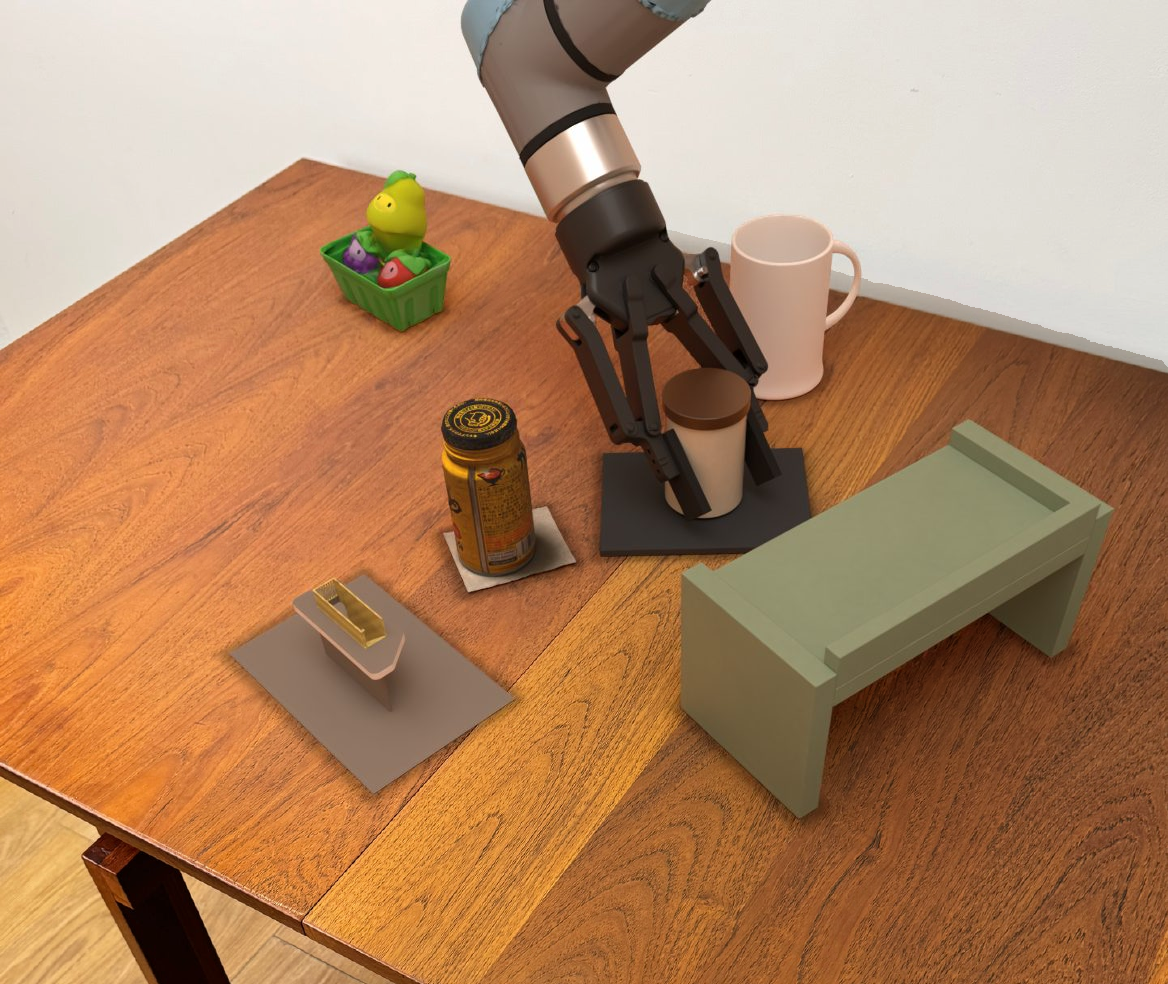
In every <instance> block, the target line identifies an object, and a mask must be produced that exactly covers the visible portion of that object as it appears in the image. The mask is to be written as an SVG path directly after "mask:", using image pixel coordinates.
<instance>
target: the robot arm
mask: <svg viewBox="0 0 1168 984" xmlns="http://www.w3.org/2000/svg"><path fill="white" fill-rule="evenodd" d="M711 1H712V0H466V2H465V4H464V6H463V8H462V11H461V15H460V29H461V34H462V36H463V39H464V41H465V44H466V46H467V48H468V51H469V54H470V56H471V58H472V60H473V63H474V66H475V68H476V74H477V78H478V80H479V82H480V84H481V86H482V88H484V89H485V91H486V93H487V95H488V97H489V99H490V100H491V103H492V104H493V106H494V109H495V110H496V112H497V115H498V117H499V119H500V120H501V123H502V124H503V126H504V128H505V131H506V133H507V134H508V136H509V138H510V142H511V143H512V145H513V147H514V149H515V151H516V153H517V156H518V159H519V160H520V163H521V165H522V167H523V170H524V172H525V174H526V176H527V178H528V180H529V183H530V185H531V187H532V189H533V191H534V193H535V196H536V197H537V200H538V202H539V204H540V206H541V208H542V210H543V213H544V214H545V217H546V219H547V220H548V222H550V223H554V224H557V225H556V227H555V232H554V237H555V239H556V241H557V244H558V245H559V247H560V249H561V251H562V253H563V255H564V258H565V260H566V262H567V265H568V266H569V268H570V270H571V273H572V274H573V275H574V276H575V277H576V279H577V280H578V282H579V286H580V301H578V302H577V303H576V304H573V305H571V306H570V307H569V308H567V310H565V311H564V313H563V314H561V315H560V317H559V318H557V320H556V322H555V328H556V330H557V332H558V333H559V334H560V335H561V336H562V337H563V339H564V340H565V341H566V342H567V343H568V345H569V346H570V347H571V348H572V350H573V352H574V354H575V357H576V360H577V362H578V364H579V366H580V369H581V372H582V374H583V376H584V379H585V381H586V384H587V387H588V389H589V391H590V394H591V396H592V398H593V401H594V403H595V406H596V408H597V411H598V413H599V415H600V418H601V421H602V423H603V425H604V428H605V430H606V432H607V436H608V438H609V440H610V442H611V443H612V444H614V445H615V446H621V445H622V444H631V445H632V446H634V447H641V449H642V452H644V453H645V455H646V458H647V460H648V462H649V464H650V466H651V468H652V470H653V472H654V474H655V477H656V479H657V480H658V481H659V482H660V483H661V484H662V483H664V482H666V481H668V482H669V484H670V486H671V488H672V490H673V492H674V495H675V497H676V499H677V501H678V503H679V505H680V507H681V509H682V512H683V514H684V516H685V518H686V520H687V522H689V521H691V520H693V519H696V518H698V517H700V516H702V515H704V514H706V513H708V512H710V511H712V509H711V507H710V505H709V503H708V501H707V499H706V496H705V494H704V492H703V490H702V488H701V486H700V484H699V481H698V479H697V477H696V475H695V473H694V471H693V469H692V466H691V464H690V462H689V460H688V458H687V456H686V454H685V451H684V449H683V447H682V445H681V443H680V441H679V439H678V436H677V434H676V432H675V430H674V428H673V429H671V430H669V431H666V432H665V431H664V432H663V433H662V430H663V426H662V419H661V415H660V409H659V402H658V398H657V392H656V386H655V380H654V374H653V369H652V364H651V362H652V361H651V357H650V351H649V346H648V337H649V327H652V326H658V325H661V327H662V328H663V329H664V330H665V331H666V332H667V333H670V334H672V335H673V336H675V337H676V339H677V340H678V341H679V343H680V344H681V345H682V346H683V347H684V348H685V350H686V351H687V352H688V353H689V355H690V356H691V357H692V358H693V359H694V360H695V362H696V363H697V365H699V367H700V368H718V369H723V370H727V371H730V372H733V373H735V374H737V375H739V376H740V377H742V378H743V379H744V380H745V381H746V382H747V384H748V385H749V387H750V390H751V402H750V409H749V411H748V413H747V424H746V442H745V462H746V464H747V467H748V469H749V471H750V473H751V475H752V477H753V480H754V482H755V484H756V486H759V485H761V484H763V483H765V482H767V481H770V480H772V479H774V478H776V477H778V476H780V475H782V472H781V470H780V468H779V466H778V464H777V461H776V459H775V457H774V455H773V453H772V450H771V448H772V447H770V444H769V442H768V439H767V437H766V435H765V432H767V431H770V430H769V422H768V420H767V418H766V415H765V414H764V411H763V409H762V407H761V405H760V402H759V399H758V398H756V396H755V393H754V387H756V386H757V384H758V381H759V380H758V379H759V378H760V377H761V376H762V374H764V373H765V372H766V371H767V370H768V363H767V361H766V359H765V357H764V355H763V353H762V351H761V349H760V348H759V346H758V344H757V342H756V340H755V338H754V336H753V334H752V332H751V330H750V328H749V326H748V324H747V322H746V321H745V319H744V317H743V315H742V313H741V311H740V309H739V307H738V305H737V303H736V301H735V299H734V297H733V295H732V293H731V292H730V287H729V286H728V284H727V282H726V280H725V279H724V274H723V270H722V263H721V258H720V255H719V251H718V250H717V249H716V248H715V247H713V246H709V247H707V248H705V249H704V251H702V252H701V253H689V254H688V253H687V254H683V252H682V250H681V249H680V248H679V247H677V246H676V245H675V244H674V242H673V241H671V239H670V237H669V233H668V228H667V222H666V219H665V217H664V215H663V212H662V210H661V208H660V206H659V204H658V202H657V200H656V199H657V198H656V197H655V195H654V192H653V191H652V188H651V185H650V184H649V182H648V181H645V180H643V179H640V178H639V177H640V174H641V172H642V165H641V163H640V160H639V158H638V157H637V154H636V152H635V150H634V147H633V146H632V143H631V142H630V140H629V138H628V136H627V133H626V131H625V130H624V129H625V128H624V127H623V125H622V123H621V121H620V119H619V117H618V114H617V112H616V110H615V108H614V106H613V105H614V104H613V102H612V100H611V98H610V95H609V92H608V90H607V88H608V86H609V85H610V84H611V83H613V82H615V81H616V80H617V79H618V78H620V77H621V76H622V75H624V73H625V72H626V71H627V70H628V69H629V68H631V66H633V65H634V64H635V63H636V62H638V61H639V60H641V58H643V57H644V56H645V55H646V54H647V53H649V52H650V51H651V50H653V48H656V46H658V45H659V44H660V43H661V42H662V41H664V40H665V39H666V38H668V37H669V36H670V35H671V34H672V33H674V32H675V31H676V30H677V29H679V28H680V27H681V26H682V25H684V24H685V23H686V22H687V21H688V20H690V19H691V18H693V19H695V18H696V17H697V16H699V15H700V14H701V13H704V11H705V9H706V7H707V5H708V4H709V3H710V2H711ZM684 276H685V277H686V279H687V280H686V283H687V285H688V286H690V287H692V286H693V290H694V294H695V296H696V299H697V301H698V302H699V304H700V306H701V309H702V310H703V312H704V314H705V316H706V319H707V320H708V321H709V322H707V321H706V320H705V319H704V318H703V316H702V315H701V314H700V312H699V307H698V304H697V303H696V301H695V300H694V299H693V298H692V297H691V296H690V294H689V292H687V291H686V289H685V288H684V287H683V284H684ZM596 316H597V317H598V318H600V319H601V320H603V321H604V322H606V323H607V324H609V325H610V330H611V335H612V342H613V347H614V350H615V352H616V353H618V358H619V364H620V369H621V376H622V381H623V386H622V383H621V381H620V379H619V376H618V374H617V371H616V369H615V367H614V364H613V361H612V359H611V356H610V354H609V352H608V350H607V346H606V343H605V342H604V339H603V337H602V335H601V333H600V331H599V329H598V327H597V317H596ZM708 323H710V325H709V324H708ZM623 387H624V389H623Z"/></svg>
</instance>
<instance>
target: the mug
mask: <svg viewBox="0 0 1168 984" xmlns="http://www.w3.org/2000/svg"><path fill="white" fill-rule="evenodd" d="M834 254H839V255H843V256H844V257H847V259H849V260H850V262H851V263H852V267H853V281H852V284H851V285H852V286H851V287H850V290H849V293H848V295H847V296H846V298H845V299H844V301H843V302H842V303H841V304H840V306H839V307H837V308H836V310H835V311H833V312H832V313H830V314H829V315H827V313H828V302H829V293H830V283H831V275H832V274H831V273H832V265H833V256H834ZM729 269H730V270H729V290H730V292H731V293H732V295H733V297H734V299H735V301H736V303H737V305H738V307H739V309H740V311H741V313H742V315H743V317H744V319H745V321H746V322H747V324H748V326H749V328H750V330H751V332H752V334H753V336H754V338H755V340H756V342H757V344H758V346H759V348H760V349H761V351H762V353H763V355H764V357H765V359H766V361H767V363H768V370H767V371H766V372H765V373H764V374H762V376H761V377H760V378H759V379H758V380H759V381H758V384H757V386H756V387H754V393H755V396H756V398H757V400H765V401H782V400H783V401H784V400H789V399H790V400H791V399H794V398H798V397H801V396H803V395H805V394H808V393H810V392H811V391H813V390H814V389H815V388H816V387H817V386H818V385H819V384H820V382H821V381H822V379H823V376H824V363H823V351H824V342H825V341H824V340H825V331H827V330H829V329H831V328H832V327H833V326H834V325H836V324H837V323H838V322H839V321H841V320H842V318H843V317H844V316H845V315H846V314H847V313H848V312H849V311H850V309H851V307H852V306H853V305H854V302H855V300H856V299H857V296H858V294H859V291H860V288H861V283H862V265H861V261H860V259H859V257H858V255H857V253H856V251H854V249H853V248H852V247H851V246H850V245H849V244H847V243H845V242H843V241H841V240H838V239H835V238H834V234H833V231H831V229H830V228H829V227H828V226H827V225H825V224H824V223H822V222H820V221H818V220H816V219H813V218H811V217H807V216H804V215H797V214H787V213H785V214H784V213H777V214H769V215H768V214H767V215H763V216H759V217H755V218H752V219H750V220H748V221H746V222H744V223H742V224H741V225H739V226H738V227H737V228H736V229H735V230H734V232H733V233H732V236H731V242H730V268H729Z"/></svg>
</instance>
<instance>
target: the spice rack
mask: <svg viewBox="0 0 1168 984" xmlns="http://www.w3.org/2000/svg"><path fill="white" fill-rule="evenodd" d="M1114 510H1115V508H1114V507H1112V506H1111V505H1109V504H1108V503H1106V502H1104V501H1102V500H1101V499H1099V498H1097V497H1096V496H1095V495H1093V494H1091V493H1090V492H1088V491H1086V490H1085V489H1083V488H1081V487H1080V486H1078V485H1077V484H1075V483H1074V482H1072V481H1070V480H1069V479H1067V478H1066V477H1064V476H1062V475H1061V474H1059V473H1058V472H1056V471H1054V470H1052V469H1051V468H1049V467H1048V466H1046V465H1044V464H1042V463H1041V462H1040V461H1038V460H1036V459H1035V458H1033V457H1032V456H1030V455H1028V454H1026V453H1025V452H1023V451H1022V450H1020V449H1018V448H1017V447H1016V446H1014V445H1012V444H1010V443H1009V442H1007V441H1006V440H1004V439H1002V438H1001V437H999V436H997V435H995V433H992V432H991V431H990V430H987V429H986V428H985V427H983V426H981V425H979V424H978V423H977V422H975V421H973V420H971V419H969V418H968V419H966V420H964V421H962V422H961V423H959V424H957V425H955V426H953V427H952V428H951V431H950V435H949V441H948V444H947V445H944V446H943V447H941V448H939V449H937V450H935V451H933V452H932V453H930V454H928V455H926V456H924V457H922V458H921V459H919V460H917V461H915V462H913V463H911V464H910V465H908V466H906V467H904V468H902V469H900V470H898V471H896V472H895V473H893V474H891V475H889V476H887V477H886V478H885V477H884V479H881V480H880V481H878V482H876V483H874V484H872V485H870V486H869V487H866V488H865V489H863V490H861V491H859V492H857V493H855V494H854V495H852V496H850V497H847V499H843V501H840V502H839V503H837V504H835V505H833V506H831V507H829V508H827V509H826V510H823V511H822V512H821V513H819V514H817V515H815V516H812V517H811V519H809V520H807V521H805V522H804V523H802V524H800V525H798V526H796V527H794V528H792V529H791V530H789V531H787V532H785V533H783V534H781V535H780V536H778V537H776V538H774V539H772V540H770V541H768V542H767V543H765V544H763V545H761V546H759V547H757V548H755V549H754V550H752V551H750V552H748V553H743V554H742V555H741V556H739V557H737V558H734V559H733V560H731V561H730V562H728V563H726V564H724V565H722V566H720V567H718V568H716V569H714V570H712V569H711V568H709V567H708V566H707V565H706V564H705V563H703V562H702V561H701V562H699V563H696V564H695V565H693V566H691V567H690V568H688V569H685V570H684V571H682V572H681V573H680V697H679V699H680V700H679V701H680V703H679V704H680V705H679V706H680V709H681V710H683V712H684V713H686V714H687V715H688V716H689V717H690V718H691V719H692V720H693V721H694V722H695V723H696V724H697V725H699V726H700V727H701V728H702V729H703V730H704V731H705V732H706V733H707V734H708V735H709V736H710V737H711V738H712V739H714V740H715V742H717V744H718V745H720V746H721V747H722V748H723V750H725V751H726V752H727V753H728V754H729V755H730V756H732V758H733V759H734V760H735V761H737V762H738V763H739V765H741V766H742V767H743V768H744V769H745V770H746V771H747V772H748V773H749V774H751V775H752V776H753V777H754V779H755V780H757V781H758V782H759V783H760V784H761V785H762V787H763V788H765V789H766V790H767V791H769V792H770V793H771V794H772V795H773V796H774V797H775V798H776V799H777V800H778V801H779V802H780V803H781V804H782V805H783V806H784V807H785V808H786V809H787V810H789V812H791V813H792V814H793V815H794V817H796V818H797V819H799V820H800V819H802V818H803V817H805V816H806V815H808V814H810V813H811V812H812V811H814V810H816V809H817V808H819V803H820V796H821V789H822V782H823V781H822V780H823V774H824V770H825V769H824V767H825V760H826V754H827V747H828V741H829V734H830V727H831V721H832V720H831V719H832V713H833V707H835V706H837V705H840V703H842V702H843V701H845V700H847V699H848V698H850V697H851V696H854V695H855V694H857V693H858V692H860V691H861V690H863V689H865V688H866V687H868V686H870V685H872V684H873V683H875V682H876V681H879V680H880V679H881V678H883V677H885V676H886V675H888V674H889V673H891V672H893V671H895V670H896V669H898V668H899V667H902V666H903V665H904V664H906V663H908V662H909V661H911V660H913V659H914V658H916V657H917V656H919V655H921V654H922V653H924V652H927V650H928V649H930V648H932V647H934V646H936V645H937V644H939V643H940V642H942V641H944V640H945V639H947V638H949V637H950V636H952V635H953V634H955V633H957V632H958V631H960V630H962V629H963V628H965V627H967V626H968V625H971V624H972V623H973V622H975V621H976V620H978V619H979V618H981V617H983V616H985V615H986V614H989V615H990V616H992V617H993V618H994V619H996V620H997V621H999V622H1000V623H1002V624H1003V625H1004V626H1005V627H1007V628H1009V629H1010V630H1011V631H1013V632H1014V633H1015V634H1017V635H1018V636H1019V637H1021V638H1022V639H1023V640H1025V641H1027V643H1029V644H1031V645H1032V646H1033V647H1034V648H1036V649H1037V650H1039V651H1040V652H1042V653H1043V654H1044V655H1046V656H1047V657H1049V658H1050V659H1052V658H1053V657H1055V656H1056V655H1058V654H1060V653H1061V652H1063V651H1065V650H1066V649H1067V648H1068V645H1069V642H1070V639H1071V637H1072V633H1073V631H1074V628H1075V626H1076V625H1075V624H1076V622H1077V619H1078V616H1079V612H1080V610H1081V607H1082V604H1083V602H1084V598H1085V595H1086V592H1087V590H1088V586H1089V583H1090V580H1091V577H1092V574H1093V572H1094V569H1095V565H1096V564H1097V560H1098V558H1099V554H1100V551H1101V548H1102V546H1103V542H1104V540H1105V537H1106V534H1107V530H1108V528H1109V525H1110V522H1111V520H1112V516H1113V513H1114Z"/></svg>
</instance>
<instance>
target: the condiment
mask: <svg viewBox="0 0 1168 984" xmlns="http://www.w3.org/2000/svg"><path fill="white" fill-rule="evenodd" d="M440 432H441V434H442V439H443V441H442V443H443V450H442V451H441V452H442V453H441V463H442V464H441V468H442V472H443V478H444V483H445V488H446V489H445V490H446V494H447V499H448V500H447V502H448V503H447V504H448V506H449V511H450V517H451V523H452V525H451V527H452V531H449V532H443V533H442V534H443V536H444V539H445V541H446V544H447V546H448V548H449V551H450V553H451V556H452V558H453V561H454V563H455V565H456V568H457V571H458V573H459V575H460V577H461V579H462V581H463V584H464V586H465V588H466V591H467V593H471V592H475V591H479V590H481V589H486V588H491V587H495V586H497V585H503V584H506V583H510V582H512V581H516V580H517V581H518V580H519V579H522V578H526V577H528V576H531V575H533V574H539V573H543V572H547V571H551V570H555V569H557V568H560V567H562V566H565V565H571V564H574V563H577V560H576V558H575V557H574V555H573V554H572V552H571V549H570V548H569V546H568V544H567V543H566V541H565V539H564V537H563V535H562V533H561V532H560V530H559V528H558V525H557V524H556V521H555V520H554V518H553V516H552V513H551V512H550V509H549V508H548V506H547V505H546V506H543V507H537V508H533V505H532V494H531V486H530V476H529V467H528V457H527V450H526V447H525V444H524V441H522V439H521V438H520V437H521V436H520V432H519V429H518V419H517V416H516V413H515V412H514V410H513V408H512V407H511V406H510V405H509V404H508V403H506V402H503V401H501V400H498V399H494V398H490V397H489V398H487V397H479V398H477V397H476V398H470V399H466V400H464V401H462V402H458V403H457V404H455V405H454V406H453V407H450V408H449V409H448V410H446V412H445V414H444V415H443V418H442V421H441V426H440Z"/></svg>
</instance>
